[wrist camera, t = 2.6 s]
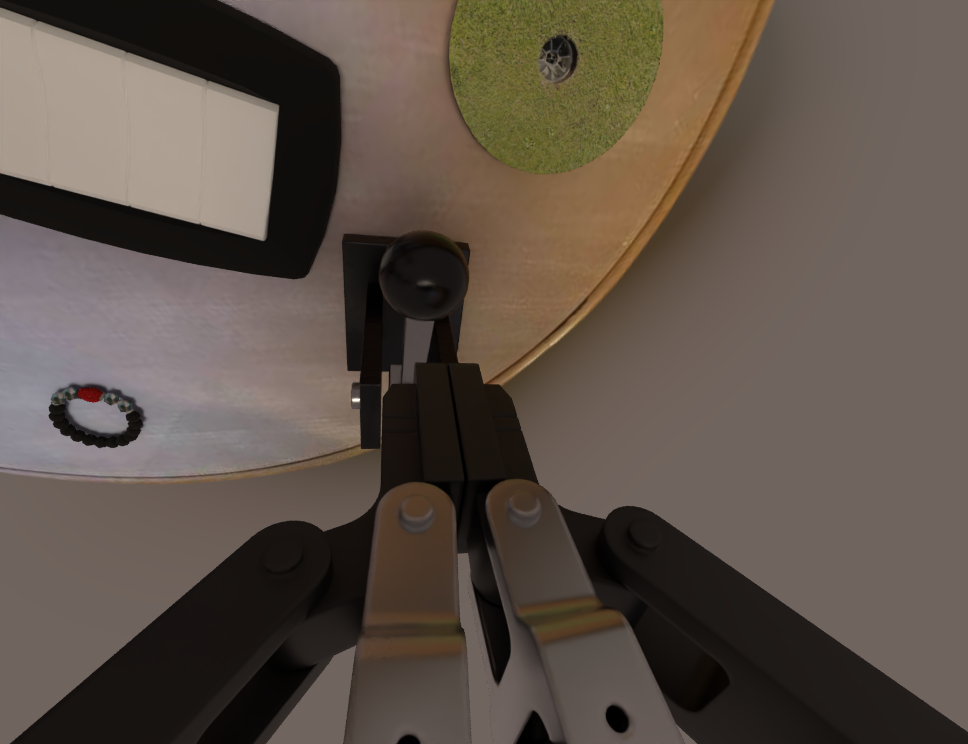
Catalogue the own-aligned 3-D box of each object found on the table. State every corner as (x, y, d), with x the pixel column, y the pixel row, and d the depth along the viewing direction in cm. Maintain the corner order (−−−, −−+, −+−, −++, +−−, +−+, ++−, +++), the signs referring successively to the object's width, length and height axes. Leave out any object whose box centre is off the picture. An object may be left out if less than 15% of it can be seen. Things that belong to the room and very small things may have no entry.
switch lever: (379, 206, 16) (377, 281, 14) (473, 214, 16) (480, 287, 15) (379, 381, 27) (378, 433, 25) (434, 381, 27) (437, 432, 26)
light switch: (-98, 212, 23) (-269, -189, 15) (-56, 190, 25) (-185, -172, 17) (314, 304, 30) (356, 61, 21) (321, 280, 32) (361, 51, 24)
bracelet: (142, 390, 34) (136, 399, 33) (148, 445, 37) (142, 454, 36) (46, 378, 32) (37, 387, 31) (60, 436, 35) (52, 446, 34)
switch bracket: (343, 233, 29) (322, 333, 20) (468, 242, 31) (501, 338, 22) (348, 361, 35) (333, 485, 26) (453, 363, 37) (474, 480, 28)
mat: (438, 156, 27) (441, 164, 26) (455, -111, 21) (460, -122, 19) (613, 174, 30) (625, 182, 28) (678, -62, 23) (699, -68, 22)
